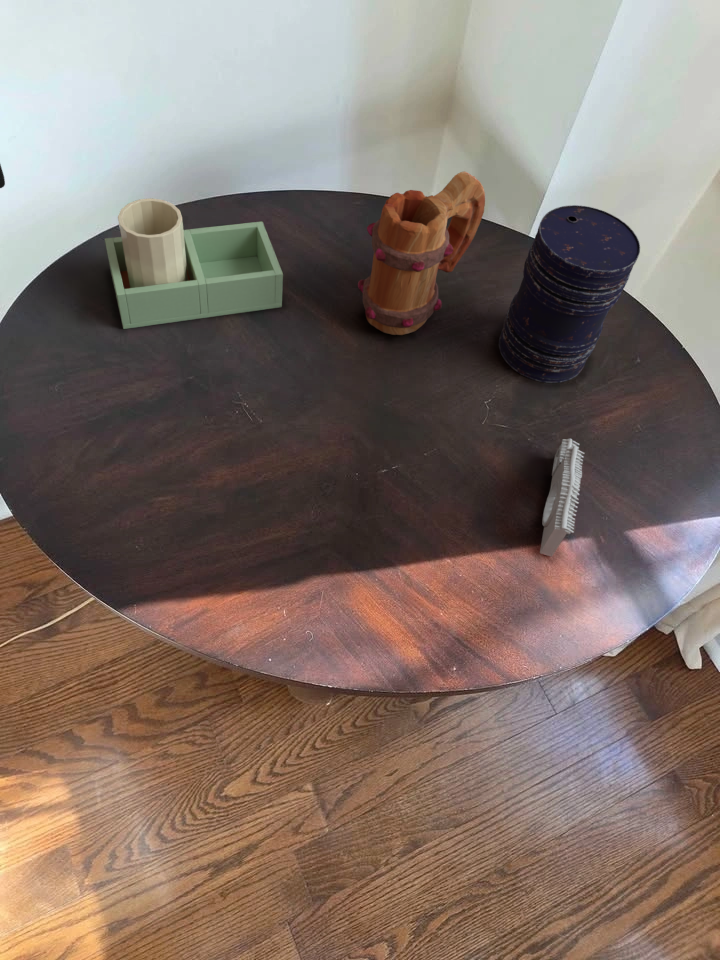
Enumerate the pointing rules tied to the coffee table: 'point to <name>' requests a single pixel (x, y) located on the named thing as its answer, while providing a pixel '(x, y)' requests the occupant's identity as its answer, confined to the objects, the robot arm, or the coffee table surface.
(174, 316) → the cup holder
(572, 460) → the lattice window wall
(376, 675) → the coffee table surface
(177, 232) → the paper cup
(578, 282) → the navy cylinder
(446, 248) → the mug
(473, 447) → the coffee table surface
